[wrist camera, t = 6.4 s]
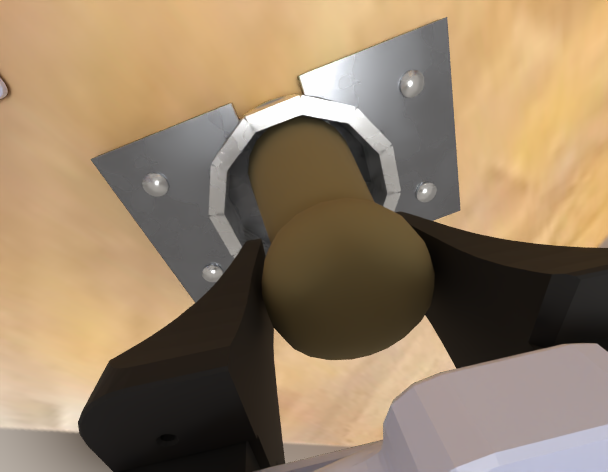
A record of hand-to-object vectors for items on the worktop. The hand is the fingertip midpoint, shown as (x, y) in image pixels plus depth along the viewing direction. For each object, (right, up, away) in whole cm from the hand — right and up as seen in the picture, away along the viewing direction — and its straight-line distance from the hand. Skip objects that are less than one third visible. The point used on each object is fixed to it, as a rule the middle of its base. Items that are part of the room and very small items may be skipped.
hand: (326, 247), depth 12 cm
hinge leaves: (-1, +4, +7) cm, 8 cm away
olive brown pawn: (-1, +4, +5) cm, 7 cm away
